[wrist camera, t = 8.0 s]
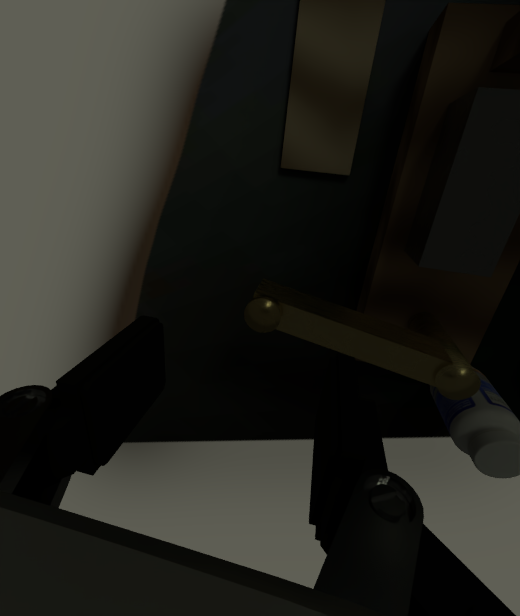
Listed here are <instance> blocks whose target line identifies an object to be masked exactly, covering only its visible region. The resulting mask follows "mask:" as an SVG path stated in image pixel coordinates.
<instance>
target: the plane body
mask: <svg viewBox="0 0 520 616" xmlns="http://www.w3.org/2000/svg"><path fill="white" fill-rule="evenodd" d="M478 87H485V88H500V89H516V90H520V5H510V4H473V3H448V4H447V6H446V7H445V9H444V10H443V11H442V13H441V14H440V16H439V17H438V19H437V20H436V21H435V23H434V24H433V26H432V27H431V29H430V30H429V34H428V38H427V41H426V45H425V49H424V53H423V57H422V61H421V64H420V68H419V72H418V76H417V80H416V84H415V88H414V91H413V95H412V99H411V103H410V107H409V111H408V114H407V118H406V122H405V126H404V130H403V134H402V137H401V141H400V145H399V149H398V153H397V157H396V161H395V164H394V168H393V172H392V176H391V180H390V184H389V187H388V191H387V195H386V199H385V203H384V207H383V210H382V214H381V218H380V222H379V226H378V230H377V233H376V237H375V241H374V245H373V249H372V253H371V257H370V260H369V264H368V268H367V272H366V276H365V280H364V283H363V287H362V291H361V295H360V299H359V303H358V306H357V310H356V311H357V312H360V313H363V314H366V315H369V316H371V317H374V318H377V319H380V320H383V321H386V322H389V323H391V324H394V325H397V326H400V327H403V328H406V329H408V322H409V320H410V319H411V317H413V316H414V315H415V314H417V313H421V312H429V313H431V314H433V315H435V316H436V317H437V319H438V320H439V322H440V323H441V324H442V326H443V327H444V329H445V330H446V331H447V333H448V334H449V336H450V337H451V338H452V340H453V341H454V343H455V344H456V345H457V347H458V348H459V350H460V351H461V352H462V354H463V355H464V357H465V358H466V359H467V361H468V362H469V364H470V363H471V361H472V359H473V357H474V355H475V353H476V351H477V349H478V347H479V345H480V342H481V340H482V338H483V336H484V334H485V332H486V330H487V328H488V326H489V324H490V322H491V319H492V317H493V315H494V313H495V311H496V309H497V307H498V305H499V303H500V301H501V299H502V296H503V294H504V292H505V290H506V288H507V286H508V284H509V282H510V280H511V278H512V276H513V274H514V271H515V269H516V267H517V265H518V263H519V261H520V214H519V216H518V218H517V220H516V223H515V225H514V227H513V229H512V232H511V234H510V236H509V238H508V241H507V243H506V245H505V247H504V249H503V252H502V254H501V256H500V258H499V261H498V263H497V265H496V267H495V270H494V272H493V274H492V276H491V277H485V276H478V275H471V274H465V273H458V272H451V271H445V270H438V269H431V268H424V267H418V266H417V264H416V263H415V262H414V261H413V260H412V259H411V258H410V257H409V256H408V255H407V253H406V252H405V251H404V250H405V247H406V243H407V240H408V237H409V233H410V230H411V227H412V224H413V220H414V217H415V214H416V211H417V207H418V204H419V201H420V198H421V194H422V191H423V188H424V185H425V181H426V178H427V175H428V171H429V168H430V165H431V162H432V158H433V155H434V152H435V149H436V145H437V142H438V139H439V136H440V132H441V129H442V126H443V123H444V119H445V116H446V113H447V109H448V106H449V103H451V102H453V101H455V100H456V99H458V98H460V97H462V96H464V95H465V94H467V93H469V92H471V91H472V90H474V89H476V88H478ZM408 330H409V329H408ZM355 360H356V361H362V360H360V359H357V358H355ZM362 362H365V361H362ZM367 363H368V362H367Z"/></svg>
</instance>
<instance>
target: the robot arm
mask: <svg viewBox="0 0 520 616" xmlns="http://www.w3.org/2000/svg"><path fill="white" fill-rule="evenodd" d="M165 382H166V379H165V356H164V334H163V324H162V323H159V320H158V319H157V318H153V317H148V316H140V317H139V318H138V319H136V320H135V321H134V322H132V323H131V324H130V325H129V326H127V327H126V328H125V329H123V330H122V331H121V332H119V333H118V334H117V335H116V336H114V337H113V338H112V339H110V340H109V341H108V342H106V343H105V344H104V345H102V346H101V347H100V348H99V349H97V350H96V351H95V352H94V353H92V354H91V355H89V356H88V357H87V358H86V359H84V360H83V361H82V362H80V363H79V364H78V365H76V366H75V367H74V368H72V369H71V370H70V371H69V372H67V373H66V374H65V375H63V376H62V377H61V378H60V379H58V380H57V381H56V383H57V386H56V387H54V388H53V389H52V390H50V389H49V388H47V387H44V386H39V385H31V386H24V387H20V388H16V389H14V390H11V391H9V392H7V393H4V394H3V395H1V396H0V616H516V615H515V614H514V613H513V612H511V610H510V609H509V608H508V607H506V605H505V604H504V603H502V601H501V600H500V599H499V598H498V597H496V596H495V595H494V594H493V593H492V592H491V591H490V590H489V589H488V588H487V587H486V586H485V585H484V584H483V583H482V582H481V581H480V580H479V579H478V578H477V577H476V576H475V575H474V574H473V573H472V572H471V571H470V570H469V569H468V568H467V567H466V566H465V565H464V564H463V563H462V562H461V561H460V560H459V559H458V558H457V557H456V556H455V555H454V554H453V553H452V552H451V551H450V550H449V549H448V548H447V547H446V546H445V545H444V544H443V543H442V542H441V541H440V540H439V539H438V538H437V537H436V536H435V535H434V534H433V533H432V532H431V531H430V530H429V529H428V528H427V527H426V526H425V525H424V524H423V518H424V514H423V506H422V503H421V501H420V498H419V497H418V495H417V493H416V492H415V491H414V489H413V488H412V487H411V486H410V485H409V484H408V483H407V482H406V481H405V480H404V479H402V478H401V477H399V476H398V475H396V474H394V473H392V472H389V471H388V468H387V463H386V458H385V452H384V447H383V442H382V436H381V431H380V426H379V420H378V415H377V410H376V405H375V402H374V401H372V400H367V399H363V398H360V395H359V387H358V379H357V371H356V363H355V357H352V356H347V355H342V354H337V357H336V358H335V357H330V361H329V365H328V369H327V373H326V378H325V382H324V386H323V390H322V394H321V399H320V403H319V407H318V411H317V416H316V421H315V433H314V449H313V466H312V480H311V498H310V512H309V524H312V525H316V534H315V539H316V540H319V541H320V545H321V547H322V548H323V550H324V551H325V553H326V554H327V557H326V559H325V562H324V564H323V566H322V569H321V571H320V574H319V576H318V579H317V581H316V584H315V586H314V589H312V588H309V587H306V586H303V585H300V584H297V583H294V582H291V581H288V580H285V579H282V578H279V577H276V576H273V575H270V574H266V573H263V572H260V571H257V570H254V569H251V568H247V567H244V566H241V565H238V564H235V563H231V562H229V561H225V560H222V559H219V558H216V557H213V556H210V555H207V554H203V553H200V552H197V551H194V550H191V549H188V548H184V547H181V546H178V545H175V544H172V543H169V542H165V541H162V540H159V539H156V538H152V537H149V536H146V535H143V534H139V533H136V532H133V531H130V530H127V529H124V528H120V527H117V526H114V525H111V524H107V523H104V522H101V521H98V520H94V519H91V518H88V517H85V516H82V515H78V514H75V513H72V512H68V511H66V510H62V509H59V505H60V503H61V500H62V498H63V496H64V493H65V491H66V488H67V486H68V483H69V481H70V478H71V475H72V474H74V473H75V472H76V471H79V472H82V473H86V474H89V475H94V474H95V472H96V471H97V470H98V468H99V467H100V466H101V465H102V466H104V465H105V464H107V463H108V462H109V460H110V459H111V458H112V456H113V455H114V454H115V452H116V451H117V450H118V449H119V447H120V446H121V444H122V443H123V442H124V441H125V439H126V438H127V437H128V435H129V434H130V433H131V431H132V430H133V429H134V428H135V426H136V425H137V424H138V422H139V421H140V420H141V418H142V417H143V416H144V414H145V413H146V412H147V410H148V409H149V408H150V407H151V405H152V404H153V403H154V401H155V400H156V399H157V397H158V396H159V395H160V393H161V392H162V391H163V389H164V386H165Z"/></svg>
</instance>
